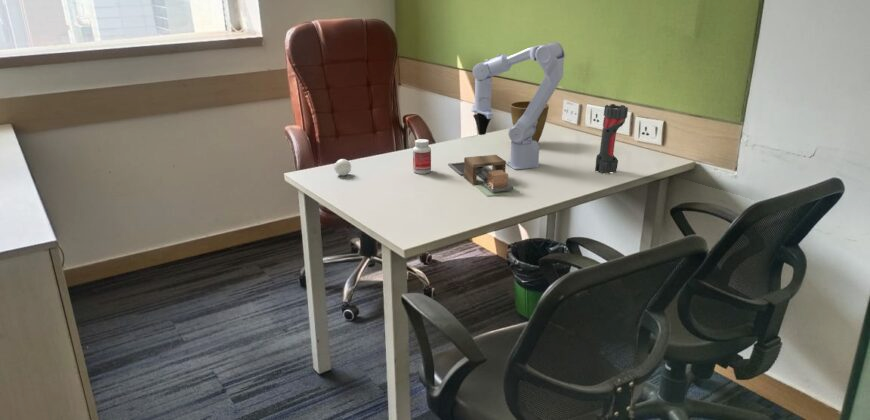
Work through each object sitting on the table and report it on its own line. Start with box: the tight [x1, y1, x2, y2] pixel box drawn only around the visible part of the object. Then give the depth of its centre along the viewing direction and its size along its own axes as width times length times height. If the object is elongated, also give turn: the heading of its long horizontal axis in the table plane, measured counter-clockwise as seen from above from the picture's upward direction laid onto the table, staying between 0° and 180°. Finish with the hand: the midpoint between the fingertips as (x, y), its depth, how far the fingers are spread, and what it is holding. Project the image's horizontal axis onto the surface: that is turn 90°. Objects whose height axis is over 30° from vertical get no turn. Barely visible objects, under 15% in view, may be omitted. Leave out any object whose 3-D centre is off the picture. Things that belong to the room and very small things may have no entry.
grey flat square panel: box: [447, 161, 492, 177], centre depth 226 cm, size 12×13×1 cm
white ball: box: [334, 158, 352, 177], centre depth 220 cm, size 8×6×6 cm
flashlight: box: [594, 103, 629, 174], centre depth 219 cm, size 8×8×23 cm
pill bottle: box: [412, 138, 432, 175], centre depth 221 cm, size 6×6×11 cm
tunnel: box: [463, 154, 507, 186], centre depth 214 cm, size 11×8×7 cm
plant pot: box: [509, 100, 550, 144], centre depth 253 cm, size 15×15×16 cm
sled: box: [464, 155, 514, 192], centre depth 212 cm, size 7×26×5 cm, turn 19°
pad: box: [474, 184, 520, 197], centre depth 206 cm, size 11×10×1 cm
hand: (482, 134), depth 234 cm, fingers closed
